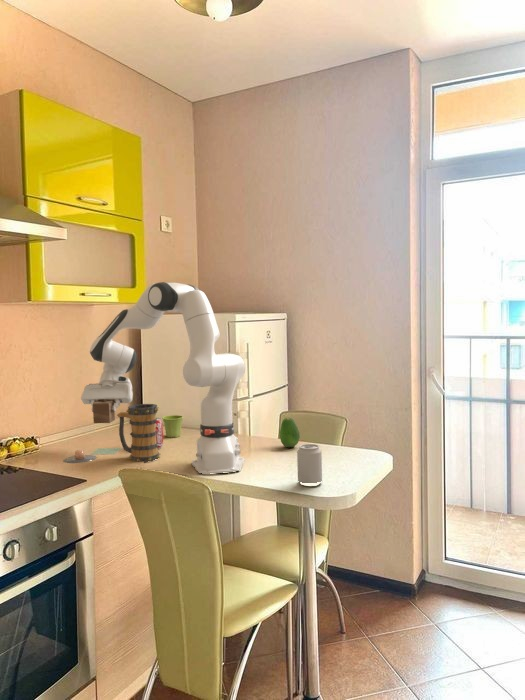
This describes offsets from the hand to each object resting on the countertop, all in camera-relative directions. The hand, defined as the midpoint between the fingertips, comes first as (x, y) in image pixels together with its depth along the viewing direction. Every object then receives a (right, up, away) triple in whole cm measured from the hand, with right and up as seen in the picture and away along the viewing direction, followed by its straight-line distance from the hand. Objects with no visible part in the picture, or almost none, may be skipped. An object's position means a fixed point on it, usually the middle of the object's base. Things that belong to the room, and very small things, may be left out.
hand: (103, 410), depth 220 cm
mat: (+1, -17, +2) cm, 17 cm away
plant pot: (+23, -15, +28) cm, 39 cm away
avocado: (+74, -15, 0) cm, 75 cm away
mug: (+17, -17, -11) cm, 26 cm away
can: (+77, -17, -49) cm, 93 cm away
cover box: (0, -4, +1) cm, 4 cm away
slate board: (-6, -17, -10) cm, 21 cm away
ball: (-6, -17, -10) cm, 20 cm away
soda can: (+19, -16, +6) cm, 26 cm away
